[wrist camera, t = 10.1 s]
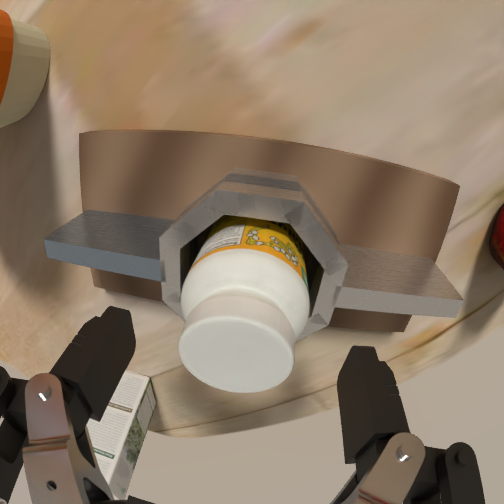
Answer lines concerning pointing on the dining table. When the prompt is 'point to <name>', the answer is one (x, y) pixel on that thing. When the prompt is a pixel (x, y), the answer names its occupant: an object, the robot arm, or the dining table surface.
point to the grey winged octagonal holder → (267, 208)
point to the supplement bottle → (244, 305)
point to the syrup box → (123, 431)
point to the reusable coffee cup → (21, 67)
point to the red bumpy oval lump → (498, 239)
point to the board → (270, 160)
